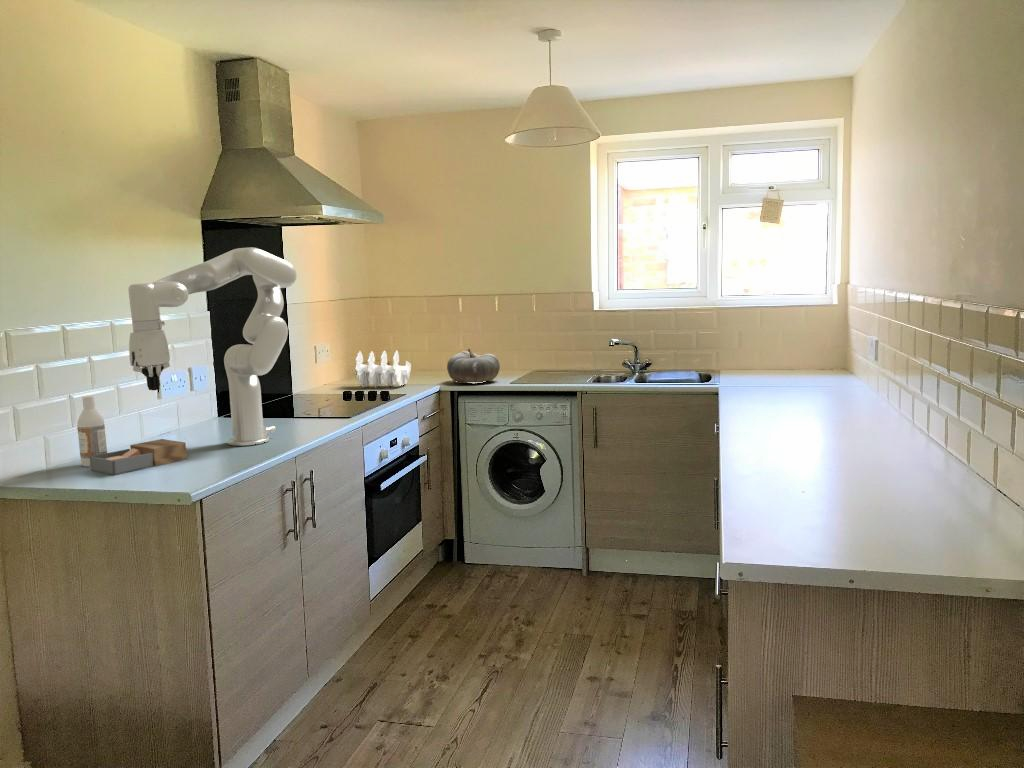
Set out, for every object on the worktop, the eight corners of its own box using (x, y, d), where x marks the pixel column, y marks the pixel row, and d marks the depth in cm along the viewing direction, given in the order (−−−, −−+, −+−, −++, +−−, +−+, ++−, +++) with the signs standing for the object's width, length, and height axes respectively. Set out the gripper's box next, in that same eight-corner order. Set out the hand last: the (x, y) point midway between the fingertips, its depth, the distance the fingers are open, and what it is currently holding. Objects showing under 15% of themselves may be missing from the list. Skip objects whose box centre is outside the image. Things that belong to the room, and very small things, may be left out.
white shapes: (405, 396, 379) (354, 394, 383) (414, 376, 394) (365, 374, 397) (401, 363, 369) (348, 361, 373) (410, 344, 384) (359, 342, 387)
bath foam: (76, 465, 231) (69, 397, 229) (98, 460, 238) (91, 394, 235) (91, 468, 228) (84, 398, 226) (113, 462, 234) (106, 395, 232)
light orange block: (104, 458, 224) (105, 468, 225) (111, 460, 222) (112, 470, 222) (119, 455, 227) (120, 466, 228) (125, 457, 225) (126, 467, 225)
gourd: (454, 374, 406) (458, 340, 402) (502, 382, 402) (506, 348, 397) (440, 385, 383) (443, 350, 378) (490, 394, 378) (494, 358, 374)
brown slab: (163, 455, 243) (161, 438, 242) (186, 459, 236) (185, 442, 235) (131, 461, 235) (130, 445, 234) (155, 466, 228) (153, 448, 227)
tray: (130, 462, 234) (128, 448, 234) (153, 466, 227) (152, 452, 227) (91, 470, 225) (89, 456, 224) (114, 475, 218) (112, 461, 217)
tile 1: (138, 456, 231) (133, 448, 230) (144, 458, 228) (138, 450, 227) (126, 464, 229) (120, 456, 228) (131, 466, 226) (125, 458, 225)
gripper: (163, 324, 238) (170, 385, 241) (114, 329, 226) (122, 393, 229) (178, 324, 234) (184, 386, 237) (129, 329, 222) (137, 394, 225)
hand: (154, 389), depth 233 cm, fingers closed
